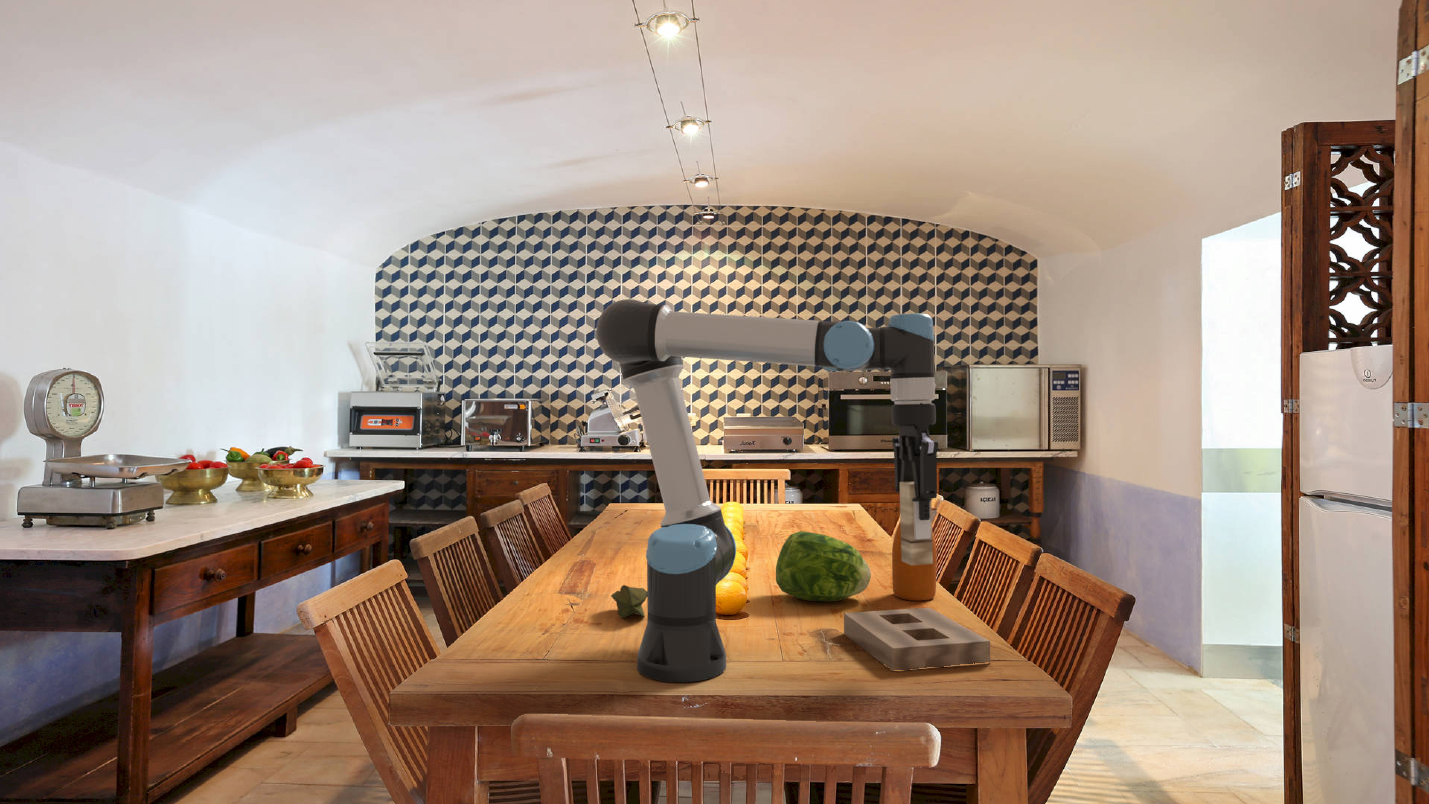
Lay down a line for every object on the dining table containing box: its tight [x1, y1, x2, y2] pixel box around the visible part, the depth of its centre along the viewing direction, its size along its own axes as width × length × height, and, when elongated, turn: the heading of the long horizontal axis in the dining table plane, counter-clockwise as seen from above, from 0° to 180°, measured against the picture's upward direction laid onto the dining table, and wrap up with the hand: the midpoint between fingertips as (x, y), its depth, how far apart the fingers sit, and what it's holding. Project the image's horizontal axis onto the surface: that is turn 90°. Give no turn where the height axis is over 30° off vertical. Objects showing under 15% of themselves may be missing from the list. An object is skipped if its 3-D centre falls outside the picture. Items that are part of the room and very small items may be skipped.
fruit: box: [610, 584, 647, 619], centre depth 171 cm, size 11×12×7 cm
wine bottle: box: [891, 520, 938, 602], centre depth 187 cm, size 10×10×30 cm
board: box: [843, 607, 991, 671], centre depth 150 cm, size 18×22×4 cm
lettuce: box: [775, 530, 872, 602], centre depth 184 cm, size 16×21×15 cm
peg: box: [899, 481, 933, 565], centre depth 144 cm, size 4×4×14 cm
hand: (916, 535), depth 144 cm, fingers closed on peg, 4 cm apart
